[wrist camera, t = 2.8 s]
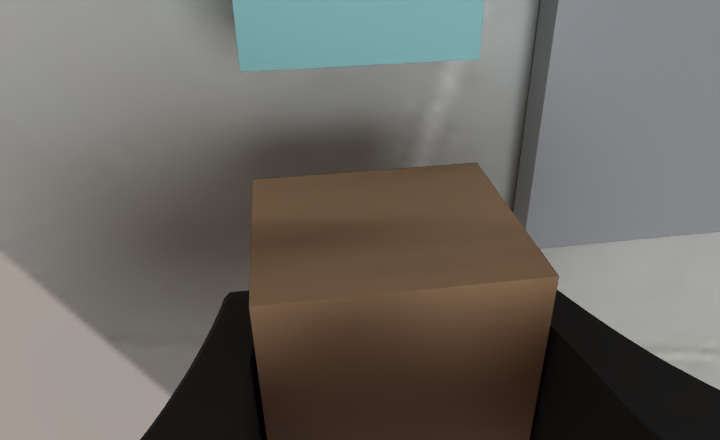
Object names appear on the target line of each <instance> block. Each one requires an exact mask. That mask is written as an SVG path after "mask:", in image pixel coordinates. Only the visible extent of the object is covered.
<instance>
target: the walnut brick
mask: <svg viewBox="0 0 720 440" xmlns="http://www.w3.org/2000/svg"><path fill="white" fill-rule="evenodd" d="M558 280H559V276H558V274H557V273H556V271H555V270H554V269H553V267H552V266H551V265H550V263H549V262H548V260H547V259H546V258H545V256H544V255H543V253H542V252H541V251H540V249H539V248H538V247H537V245H536V244H535V242H534V241H533V240H532V238H531V237H530V236H529V234H528V233H527V231H526V230H525V229H524V227H523V226H522V225H521V223H520V222H519V220H518V219H517V218H516V216H515V215H514V213H513V212H512V211H511V209H510V208H509V207H508V205H507V204H506V202H505V201H504V200H503V198H502V197H501V196H500V194H499V193H498V191H497V190H496V189H495V187H494V186H493V184H492V183H491V182H490V180H489V179H488V178H487V176H486V175H485V173H484V172H483V171H482V169H481V168H480V167H479V165H478V164H477V163H465V164H452V165H439V166H426V167H412V168H399V169H386V170H373V171H359V172H346V173H333V174H320V175H306V176H293V177H280V178H267V179H253V183H252V218H251V252H250V287H249V311H250V318H251V326H252V333H253V340H254V348H255V355H256V362H257V370H258V377H259V384H260V392H261V399H262V406H263V414H264V421H265V428H266V436H267V440H529V439H530V434H531V428H532V423H533V417H534V412H535V406H536V401H537V395H538V390H539V384H540V379H541V373H542V368H543V362H544V357H545V351H546V346H547V340H548V335H549V329H550V324H551V318H552V313H553V307H554V302H555V296H556V291H557V285H558Z"/></svg>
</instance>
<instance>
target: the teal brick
mask: <svg viewBox="0 0 720 440" xmlns="http://www.w3.org/2000/svg"><path fill="white" fill-rule="evenodd" d="M484 1H485V0H232V3H233V12H234V21H235V30H236V39H237V48H238V57H239V66H240V72H245V71H264V70H283V69H302V68H321V67H340V66H359V65H379V64H398V63H417V62H436V61H455V60H474V59H479V57H480V46H481V35H482V24H483V12H484Z"/></svg>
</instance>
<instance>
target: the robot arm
mask: <svg viewBox="0 0 720 440" xmlns="http://www.w3.org/2000/svg"><path fill="white" fill-rule="evenodd" d="M140 440H267V436H266V428H265V421H264V414H263V406H262V399H261V392H260V384H259V377H258V370H257V362H256V355H255V348H254V340H253V333H252V326H251V318H250V311H249V291H239V292H230V293H229V294H228V295H227V296H226V297H225V298H224V300H223V303H222V306H221V308H220V311H219V313H218V315H217V317H216V320H215V322H214V324H213V326H212V328H211V330H210V332H209V334H208V336H207V338H206V340H205V342H204V343H203V345H202V347H201V349H200V351H199V352H198V354H197V356H196V358H195V359H194V361H193V363H192V365H191V367H190V368H189V370H188V372H187V373H186V375H185V376H184V378H183V380H182V381H181V383H180V384H179V386H178V387H177V389H176V390H175V392H174V393H173V395H172V396H171V398H170V399H169V401H168V403H167V404H166V406H165V407H164V408H163V410H162V411H161V413H160V414H159V416H158V417H157V418H156V420H155V421H154V422H153V424H152V425H151V426H150V428H149V429H148V430H147V432H146V433H145V434H144V436H143V437H142V438H141V439H140ZM529 440H720V390H718V389H716V388H714V387H712V386H710V385H708V384H706V383H704V382H702V381H701V380H699V379H697V378H695V377H693V376H691V375H689V374H687V373H686V372H684V371H682V370H680V369H678V368H676V367H674V366H672V365H671V364H669V363H667V362H665V361H664V360H662V359H660V358H658V357H657V356H655V355H653V354H652V353H650V352H648V351H647V350H645V349H643V348H642V347H640V346H639V345H637V344H635V343H634V342H632V341H631V340H629V339H627V338H626V337H624V336H623V335H621V334H620V333H618V332H617V331H615V330H614V329H612V328H611V327H609V326H608V325H606V324H605V323H603V322H602V321H600V320H599V319H597V318H596V317H594V316H593V315H592V314H590V313H589V312H587V311H586V310H584V309H583V308H582V307H580V306H579V305H577V304H576V303H575V302H573V301H572V300H570V299H569V298H568V297H566V296H565V295H564V294H562V293H561V292H560V291H558V290H557V291H556V296H555V302H554V307H553V313H552V318H551V324H550V329H549V335H548V340H547V346H546V351H545V357H544V362H543V368H542V373H541V379H540V384H539V390H538V395H537V401H536V406H535V412H534V417H533V423H532V428H531V434H530V439H529Z"/></svg>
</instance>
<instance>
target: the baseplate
mask: <svg viewBox="0 0 720 440" xmlns="http://www.w3.org/2000/svg"><path fill="white" fill-rule="evenodd" d="M513 213H514V215H515V216H516V218H517V219H518V220H519V222H520V223H521V225H522V226H523V227H524V229H525V230H526V231H527V233H528V234H529V236H530V237H531V238H532V240H533V241H534V242H535V244H536V245H537V247H538V248H539V249H541V248H551V247H562V246H573V245H583V244H594V243H605V242H616V241H626V240H637V239H648V238H658V237H669V236H680V235H690V234H701V233H712V232H720V0H541V1H540V9H539V16H538V24H537V32H536V40H535V47H534V55H533V63H532V70H531V78H530V86H529V94H528V101H527V109H526V117H525V125H524V132H523V140H522V148H521V156H520V163H519V171H518V179H517V187H516V194H515V202H514V210H513Z"/></svg>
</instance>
